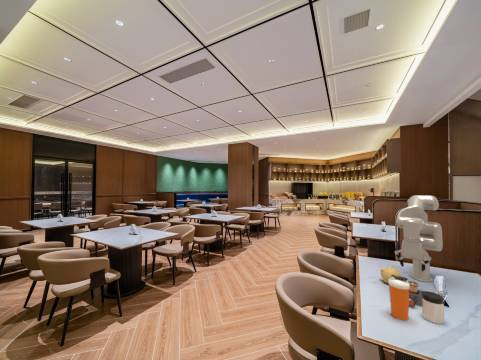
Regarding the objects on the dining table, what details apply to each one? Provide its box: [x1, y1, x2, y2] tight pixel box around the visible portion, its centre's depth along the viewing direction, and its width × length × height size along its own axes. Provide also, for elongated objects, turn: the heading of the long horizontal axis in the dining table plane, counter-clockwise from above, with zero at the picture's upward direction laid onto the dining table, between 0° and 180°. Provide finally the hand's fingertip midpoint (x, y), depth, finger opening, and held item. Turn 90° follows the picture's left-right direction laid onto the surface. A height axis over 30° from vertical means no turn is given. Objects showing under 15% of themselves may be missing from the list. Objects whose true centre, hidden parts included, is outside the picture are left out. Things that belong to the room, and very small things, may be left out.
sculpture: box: [380, 266, 403, 285], centre depth 146 cm, size 11×12×11 cm
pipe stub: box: [407, 280, 419, 294], centre depth 124 cm, size 5×5×10 cm
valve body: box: [409, 288, 424, 309], centre depth 122 cm, size 17×11×6 cm, turn 133°
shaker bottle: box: [388, 274, 410, 321], centre depth 108 cm, size 9×9×20 cm
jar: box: [421, 290, 445, 325], centre depth 106 cm, size 9×8×12 cm
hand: (412, 268), depth 125 cm, fingers open, 9 cm apart
